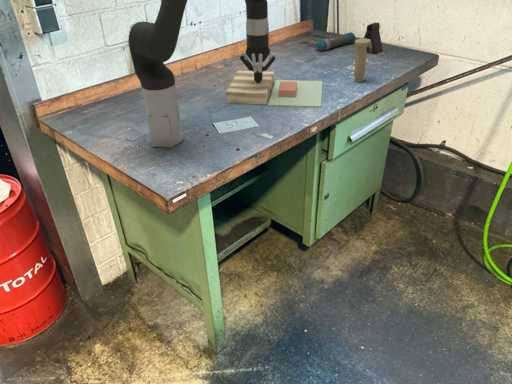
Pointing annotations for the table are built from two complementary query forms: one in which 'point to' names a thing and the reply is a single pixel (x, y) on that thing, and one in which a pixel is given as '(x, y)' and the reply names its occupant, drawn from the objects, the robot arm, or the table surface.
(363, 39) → the handle
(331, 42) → the flashlight
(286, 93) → the salmon orange block
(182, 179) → the table surface
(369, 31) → the phone stand
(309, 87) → the mat
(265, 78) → the deck
